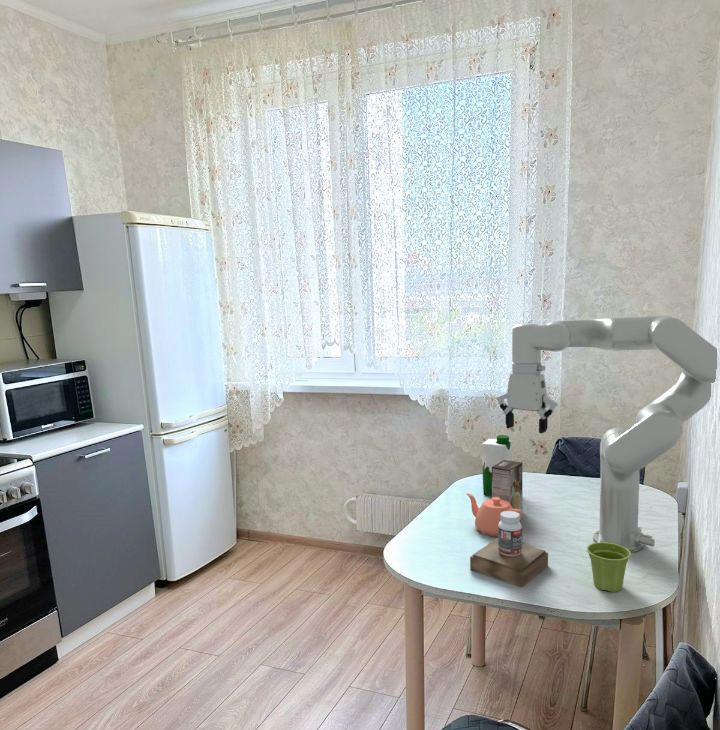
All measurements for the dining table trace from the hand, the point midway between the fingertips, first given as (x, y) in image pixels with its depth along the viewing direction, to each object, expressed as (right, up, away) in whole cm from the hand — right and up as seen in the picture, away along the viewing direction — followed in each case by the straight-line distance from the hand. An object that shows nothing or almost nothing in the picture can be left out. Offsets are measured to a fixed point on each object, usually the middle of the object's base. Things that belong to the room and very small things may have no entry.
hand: (526, 429), depth 162 cm
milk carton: (+1, -26, +38) cm, 46 cm away
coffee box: (0, -28, +19) cm, 34 cm away
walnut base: (-9, -33, -16) cm, 37 cm away
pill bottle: (-9, -29, -16) cm, 34 cm away
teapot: (-7, -30, +8) cm, 32 cm away
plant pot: (+12, -34, -26) cm, 44 cm away
